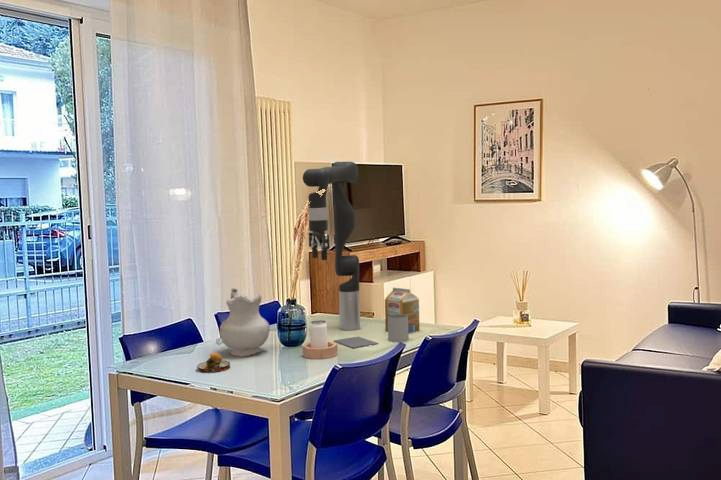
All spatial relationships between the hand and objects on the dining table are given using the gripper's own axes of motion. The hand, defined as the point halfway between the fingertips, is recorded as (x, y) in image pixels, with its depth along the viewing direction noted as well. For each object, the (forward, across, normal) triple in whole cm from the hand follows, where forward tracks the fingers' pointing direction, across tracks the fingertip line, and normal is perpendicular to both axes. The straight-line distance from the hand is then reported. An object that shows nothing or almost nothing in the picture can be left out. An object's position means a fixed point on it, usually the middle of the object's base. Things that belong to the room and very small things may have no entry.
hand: (319, 259), depth 270 cm
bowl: (+35, -15, +9) cm, 39 cm away
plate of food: (+34, -10, +49) cm, 61 cm away
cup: (+36, -11, -29) cm, 47 cm away
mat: (+35, -6, -12) cm, 38 cm away
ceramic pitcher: (+35, +7, +31) cm, 48 cm away
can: (+34, -15, +9) cm, 38 cm away
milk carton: (+36, +2, -40) cm, 54 cm away
